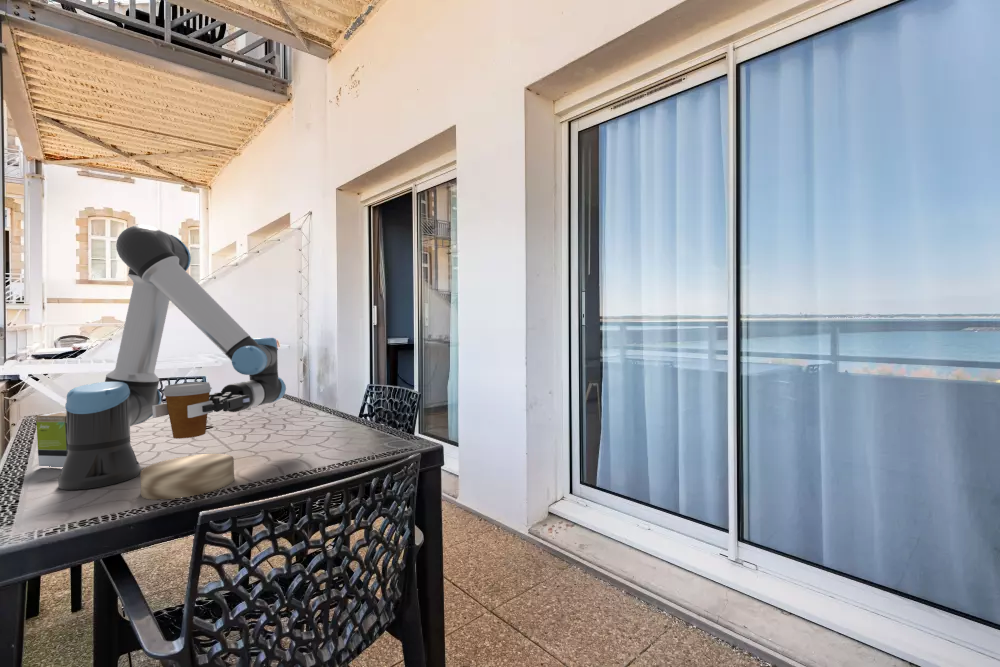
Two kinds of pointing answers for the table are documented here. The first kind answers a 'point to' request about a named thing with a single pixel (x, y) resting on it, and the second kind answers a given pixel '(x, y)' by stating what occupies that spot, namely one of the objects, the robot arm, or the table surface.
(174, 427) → the disposable coffee cup
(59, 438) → the tea box
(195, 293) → the robot arm
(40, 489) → the table surface
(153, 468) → the wooden plinth
